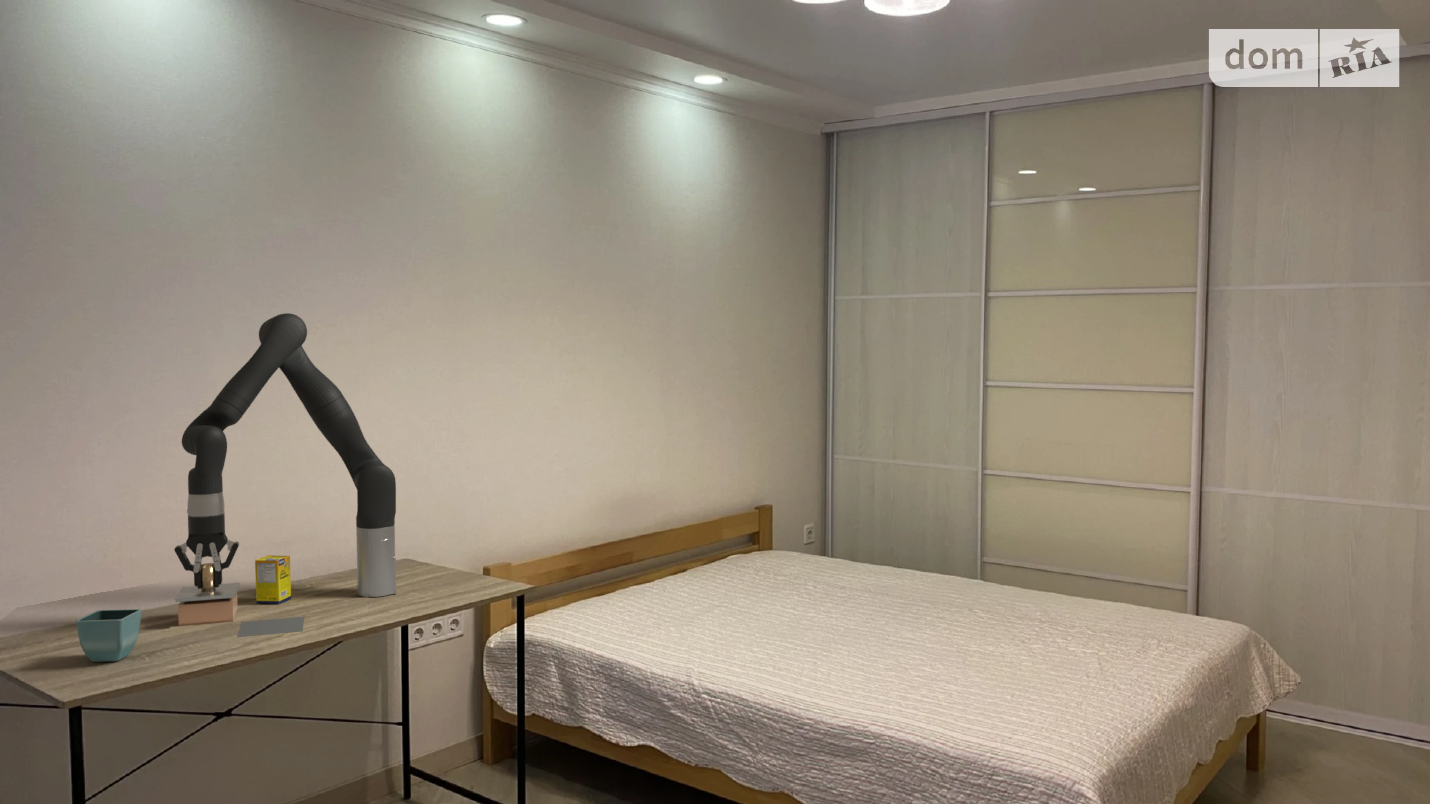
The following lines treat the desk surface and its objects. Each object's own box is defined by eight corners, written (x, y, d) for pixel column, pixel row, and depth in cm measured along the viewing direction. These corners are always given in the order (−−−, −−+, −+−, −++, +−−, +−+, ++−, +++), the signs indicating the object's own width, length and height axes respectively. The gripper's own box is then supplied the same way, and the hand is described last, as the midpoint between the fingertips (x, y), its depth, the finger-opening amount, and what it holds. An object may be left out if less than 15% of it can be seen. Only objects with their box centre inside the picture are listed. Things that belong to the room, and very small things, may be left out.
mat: (304, 618, 237) (304, 616, 237) (302, 632, 224) (302, 631, 224) (242, 623, 232) (242, 621, 232) (237, 638, 220) (237, 636, 220)
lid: (239, 585, 243) (239, 557, 243) (235, 597, 232) (234, 567, 231) (183, 590, 239) (182, 561, 239) (175, 602, 228) (174, 571, 227)
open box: (237, 611, 243) (237, 590, 242) (233, 623, 232) (232, 601, 232) (185, 615, 239) (185, 594, 239) (178, 627, 229) (178, 605, 228)
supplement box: (291, 598, 255) (290, 555, 254) (279, 604, 249) (278, 560, 248) (268, 598, 256) (267, 554, 255) (255, 604, 250) (254, 559, 249)
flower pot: (99, 652, 210) (97, 609, 210) (144, 651, 211) (142, 608, 210) (76, 666, 201) (74, 620, 201) (123, 664, 202) (121, 619, 202)
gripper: (241, 508, 240) (243, 581, 241) (174, 511, 235) (176, 586, 236) (238, 513, 233) (240, 588, 234) (169, 516, 228) (171, 593, 229)
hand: (208, 587), depth 235 cm, fingers closed on lid, 3 cm apart
